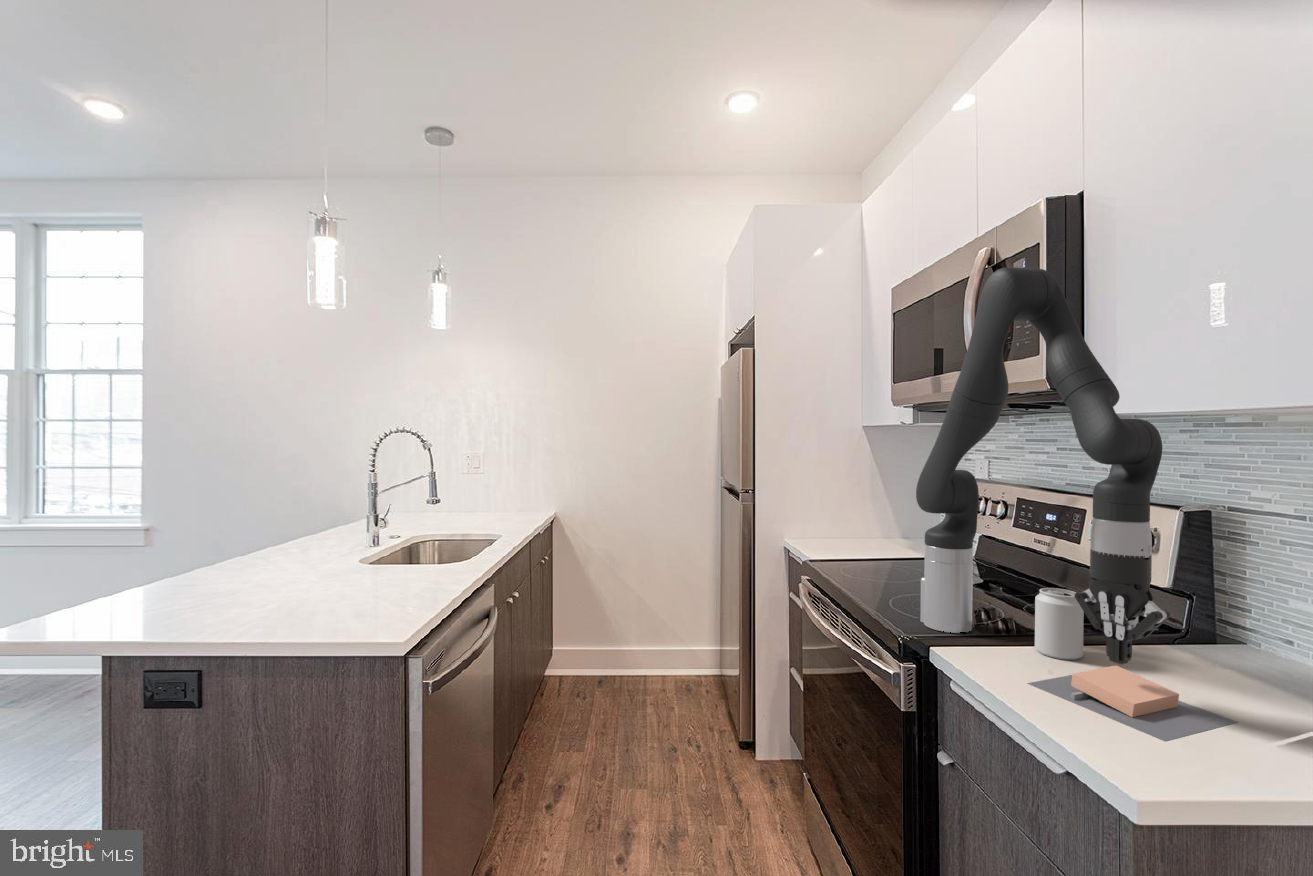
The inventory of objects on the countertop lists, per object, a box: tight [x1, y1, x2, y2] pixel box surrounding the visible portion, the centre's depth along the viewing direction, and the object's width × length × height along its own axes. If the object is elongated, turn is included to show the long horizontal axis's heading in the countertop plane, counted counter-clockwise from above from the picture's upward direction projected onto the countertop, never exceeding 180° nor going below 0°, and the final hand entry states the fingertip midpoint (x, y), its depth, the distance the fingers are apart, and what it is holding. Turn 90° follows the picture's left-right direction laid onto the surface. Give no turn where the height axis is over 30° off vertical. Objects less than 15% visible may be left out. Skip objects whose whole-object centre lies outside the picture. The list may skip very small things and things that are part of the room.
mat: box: [1026, 674, 1239, 742], centre depth 94 cm, size 20×16×1 cm
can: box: [1034, 587, 1085, 661], centre depth 114 cm, size 8×8×12 cm
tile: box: [1071, 665, 1180, 717], centre depth 94 cm, size 2×10×9 cm
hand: (1118, 662), depth 94 cm, fingers closed
